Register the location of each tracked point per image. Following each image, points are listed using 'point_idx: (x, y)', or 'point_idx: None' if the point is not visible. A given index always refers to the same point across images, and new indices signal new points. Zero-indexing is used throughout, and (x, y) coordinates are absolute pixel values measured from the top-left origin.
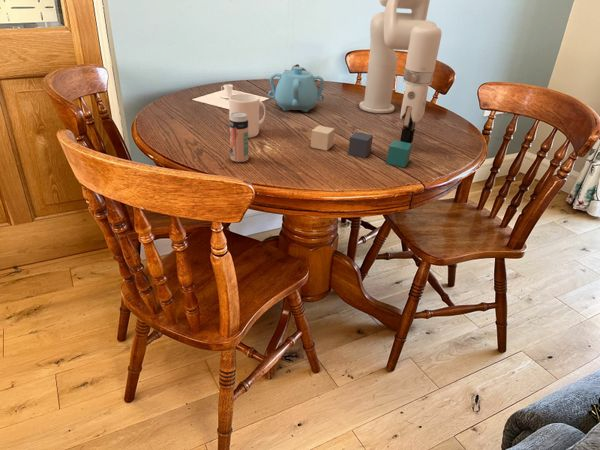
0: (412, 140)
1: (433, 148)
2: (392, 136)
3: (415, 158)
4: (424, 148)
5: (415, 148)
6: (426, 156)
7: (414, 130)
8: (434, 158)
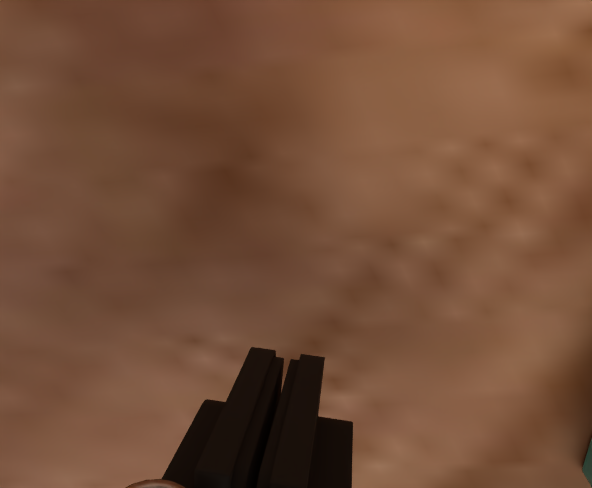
0: (262, 357)
1: (95, 61)
2: (10, 479)
3: (515, 232)
4: (151, 164)
5: (203, 258)
6: (396, 114)
7: (218, 453)
8: (425, 7)
